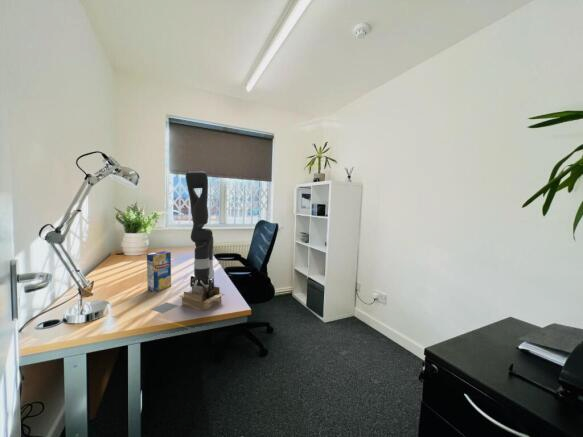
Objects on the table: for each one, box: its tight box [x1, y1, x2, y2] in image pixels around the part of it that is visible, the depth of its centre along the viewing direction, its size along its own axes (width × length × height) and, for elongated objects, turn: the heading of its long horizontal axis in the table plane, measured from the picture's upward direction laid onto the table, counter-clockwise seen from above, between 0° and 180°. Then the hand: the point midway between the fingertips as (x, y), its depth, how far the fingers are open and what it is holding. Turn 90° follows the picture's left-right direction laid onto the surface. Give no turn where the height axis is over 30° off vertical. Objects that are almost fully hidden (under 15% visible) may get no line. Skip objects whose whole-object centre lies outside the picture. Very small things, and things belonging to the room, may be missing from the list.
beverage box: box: [146, 250, 172, 293], centre depth 143 cm, size 7×11×22 cm, turn 151°
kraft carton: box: [179, 285, 225, 312], centre depth 121 cm, size 13×19×8 cm
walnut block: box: [191, 284, 212, 302], centre depth 121 cm, size 9×5×10 cm, turn 157°
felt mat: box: [150, 301, 179, 314], centre depth 116 cm, size 9×9×1 cm
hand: (202, 296), depth 121 cm, fingers open, 8 cm apart
